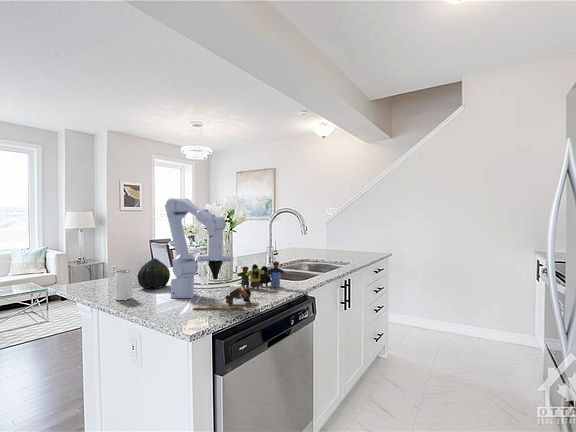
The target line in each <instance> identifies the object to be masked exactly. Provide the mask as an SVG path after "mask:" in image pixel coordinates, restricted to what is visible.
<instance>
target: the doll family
mask: <svg viewBox="0 0 576 432" xmlns="http://www.w3.org/2000/svg"><path fill="white" fill-rule="evenodd" d="M272 265H273V267H272V268H268V267H267V266H266V265H262V267H261V268H259V267H258V266H259V265H257V264H256V263H254V264H252V267H251V270H250V269H249V267H248V266H242V267H241V270H242V271H241V272H239V273H237V275H236V276H237V277H241V282H240V284H241V289H242V290H244V289H251V290H260V288H263V287H269V284H270V288H275V287H276V288H280V287H281V285H280V284H281V281H280V280H281V279H280V278H281V277H280V274H283V275H286V274H287V273H286V272H285V271H284V270H283V269H281V268H279V265H280V262H279V261H273V262H272Z"/></svg>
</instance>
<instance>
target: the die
mask: <svg viewBox="0 0 576 432" xmlns="http://www.w3.org/2000/svg"><path fill="white" fill-rule="evenodd" d="M237 288H241V289H242V285H241V283H231V284H230V285H229V294H230V293H231V292H232V291H234V290H236V289H237ZM240 296H241V294H240Z"/></svg>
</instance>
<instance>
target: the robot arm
mask: <svg viewBox="0 0 576 432" xmlns="http://www.w3.org/2000/svg"><path fill="white" fill-rule="evenodd" d="M164 208H165V211H166V217H167V219H168V224H169V229H170V232H171V233H170V234H171V238H172V243H173V245H174V249H175V250H174V251H175V254H176V256H175V258H174V259H173V260H172V262H171V263H172V273H173V275H174V276H172V277H171V280H170V281H171V282H170V299H192V298H193V297H194V296H195V295H197V292H195V276H196V273H198V268H199V266H198V265H199V264H198V263H201V262H207V265H208V267H209V269H210V271H211V275H212V279H213V280H218V279H219V274H220V271H221V267H222V266H223V263H224V262H228V263H229V262H230V263H233V262H234V256H227V255H226V256H225V255H223V252H224V249H223V246H224V245H223V244H224V243H223V242H224V241H223V240H224V238H223V235H224V230H225V228H226V225H227V224H226V219H224V218H223V216H216V214H215V213H212V212H210V211H209V210H210V209H207V208H202V209H201V208H199V207H198V206H196V204H194V203H193V202H192V200H190V199H189V198H173V197H169V198H168V199H167V201H166V202H165V205H164ZM188 214H191V215H192V216H194V217H195V218H196V220H197V221H198V223H200V224H202V225H204V227H205V230H206V231H207V235H208V256H204V255H203V256H197V260H195V259H196V258H195V256H194V255H192V254H191V253H190V252H189V248H188V245H187V244H188V243H187V240H186V236H185V235H186V234H185V231H184V228H183V227H184V226H183V222H182V220H183V219H184V218H185V217H186V216H187V215H188Z"/></svg>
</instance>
